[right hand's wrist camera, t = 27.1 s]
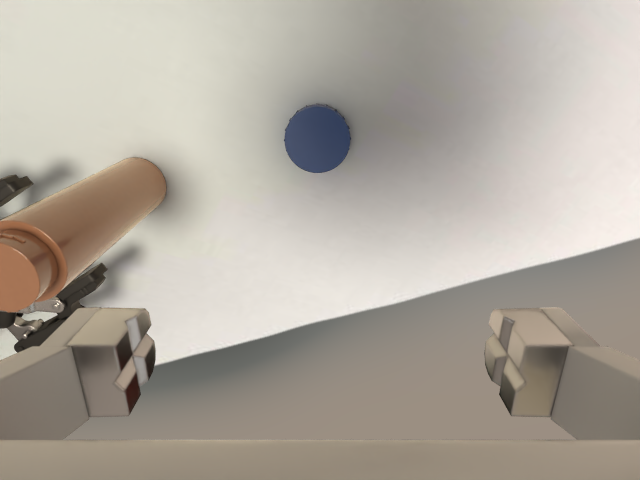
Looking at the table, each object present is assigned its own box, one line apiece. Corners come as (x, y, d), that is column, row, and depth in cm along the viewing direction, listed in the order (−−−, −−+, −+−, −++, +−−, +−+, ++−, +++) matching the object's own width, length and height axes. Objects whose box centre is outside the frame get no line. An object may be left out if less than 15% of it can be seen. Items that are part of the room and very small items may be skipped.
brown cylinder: (105, 158, 39) (-66, 233, 21) (161, 156, 38) (34, 230, 21) (117, 211, 40) (-33, 320, 23) (170, 209, 40) (59, 318, 23)
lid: (344, 172, 39) (345, 177, 37) (282, 164, 39) (280, 169, 37) (354, 108, 37) (355, 110, 35) (289, 99, 37) (287, 101, 35)
